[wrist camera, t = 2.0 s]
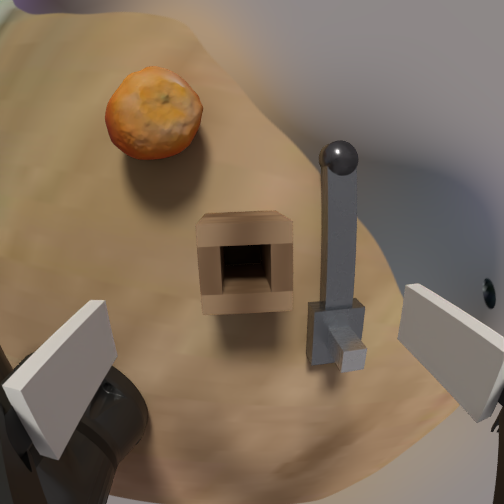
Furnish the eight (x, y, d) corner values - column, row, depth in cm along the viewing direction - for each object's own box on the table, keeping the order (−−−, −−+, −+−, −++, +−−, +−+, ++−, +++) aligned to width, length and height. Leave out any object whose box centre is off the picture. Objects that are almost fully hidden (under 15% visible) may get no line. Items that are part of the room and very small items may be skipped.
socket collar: (209, 280, 29) (202, 315, 21) (205, 213, 28) (195, 224, 20) (276, 277, 29) (292, 310, 22) (275, 210, 28) (292, 220, 20)
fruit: (90, 111, 23) (100, 66, 17) (163, 91, 27) (193, 49, 20) (115, 186, 25) (131, 162, 18) (189, 159, 29) (227, 132, 22)
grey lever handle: (306, 353, 31) (322, 391, 25) (307, 142, 27) (331, 129, 20) (350, 347, 32) (375, 382, 25) (358, 144, 27) (393, 135, 20)
